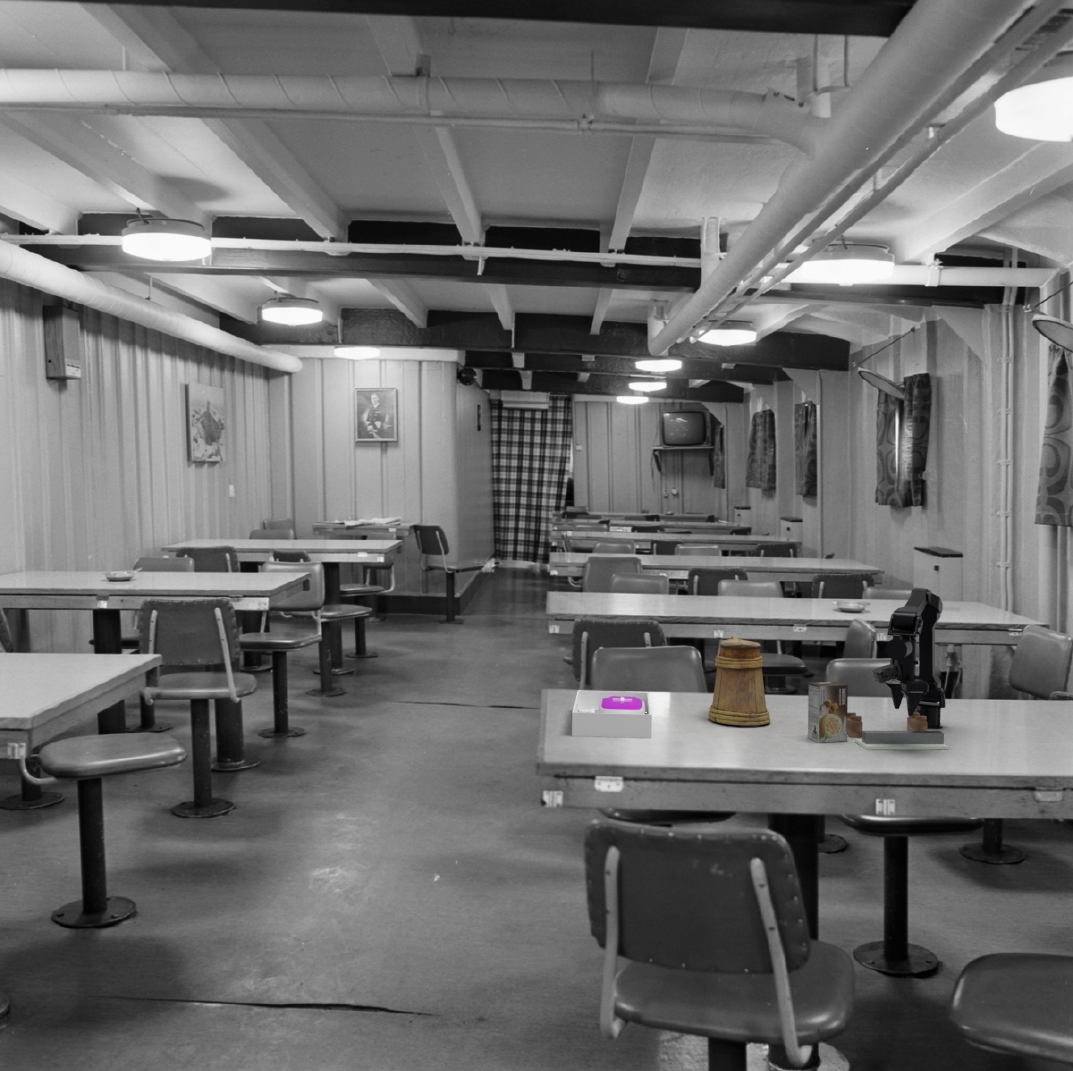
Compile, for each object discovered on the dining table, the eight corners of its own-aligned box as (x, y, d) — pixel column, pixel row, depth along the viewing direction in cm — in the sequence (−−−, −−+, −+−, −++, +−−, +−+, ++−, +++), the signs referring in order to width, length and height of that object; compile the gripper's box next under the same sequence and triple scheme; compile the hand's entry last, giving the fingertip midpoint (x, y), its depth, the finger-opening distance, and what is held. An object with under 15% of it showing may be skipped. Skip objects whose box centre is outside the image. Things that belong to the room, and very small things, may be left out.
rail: (939, 741, 292) (939, 730, 292) (943, 743, 289) (944, 733, 289) (861, 741, 291) (862, 730, 291) (865, 743, 288) (866, 733, 288)
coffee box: (835, 736, 300) (836, 680, 299) (847, 741, 294) (849, 684, 293) (806, 738, 298) (808, 682, 297) (818, 743, 291) (819, 685, 291)
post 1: (853, 732, 306) (853, 711, 306) (862, 737, 299) (862, 716, 299) (843, 732, 306) (843, 711, 305) (851, 737, 299) (852, 716, 298)
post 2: (916, 732, 307) (917, 712, 307) (927, 737, 300) (927, 717, 300) (906, 732, 307) (907, 712, 306) (916, 737, 300) (917, 717, 299)
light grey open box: (571, 737, 296) (572, 711, 296) (577, 712, 331) (577, 689, 331) (651, 739, 295) (651, 714, 294) (648, 714, 329) (648, 691, 329)
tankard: (716, 727, 309) (718, 643, 309) (700, 711, 333) (702, 633, 332) (776, 728, 310) (778, 644, 309) (756, 712, 334) (758, 634, 333)
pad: (934, 741, 295) (934, 739, 295) (948, 749, 286) (949, 746, 286) (854, 741, 294) (854, 738, 294) (866, 749, 285) (866, 746, 285)
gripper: (864, 651, 298) (862, 705, 298) (889, 660, 279) (888, 719, 279) (902, 651, 298) (900, 705, 299) (930, 661, 280) (928, 719, 280)
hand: (903, 712), depth 289 cm, fingers open, 9 cm apart
